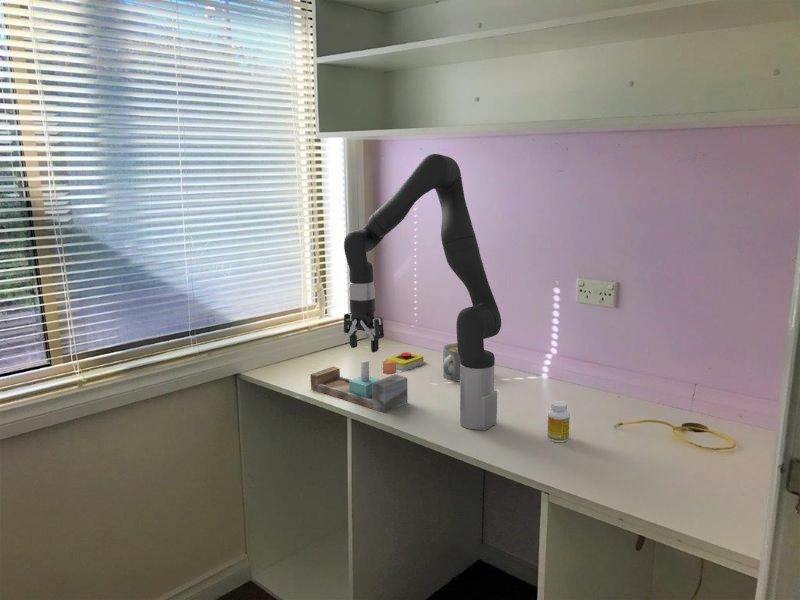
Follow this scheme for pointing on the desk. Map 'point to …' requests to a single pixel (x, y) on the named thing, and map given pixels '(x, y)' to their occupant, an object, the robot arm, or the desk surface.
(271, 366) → the desk surface
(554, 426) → the supplement bottle
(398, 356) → the emergency button
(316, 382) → the rail
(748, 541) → the desk surface
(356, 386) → the carriage
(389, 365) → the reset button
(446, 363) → the coffee mug
